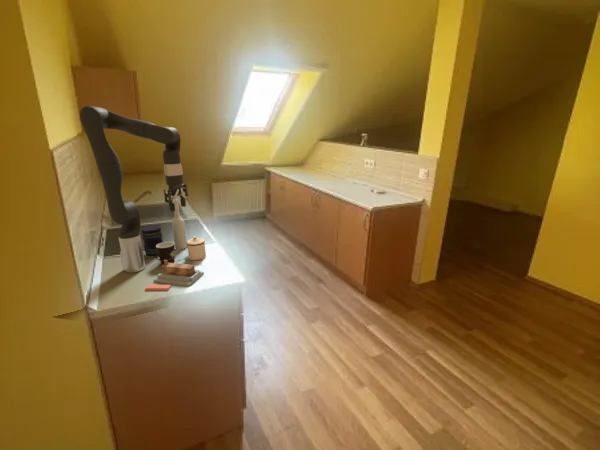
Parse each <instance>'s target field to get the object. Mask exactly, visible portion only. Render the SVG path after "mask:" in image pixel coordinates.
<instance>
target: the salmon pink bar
mask: <svg viewBox="0 0 600 450" xmlns="http://www.w3.org/2000/svg"><path fill="white" fill-rule="evenodd" d="M171 288H172V284H148V285H146V287H144V289H145V291H169V290H171Z"/></svg>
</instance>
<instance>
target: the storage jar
mask: <svg viewBox="0 0 600 450" xmlns="http://www.w3.org/2000/svg"><path fill="white" fill-rule="evenodd" d="M140 231H141V235H142V236H141V239H143V244H144V245H143V247H144V249H143V251H144V254H145V257H147V258H156V257H155V255H156V253H157V248H156V245H157V244H159V243H163V242H164V241H163V231H162V225H159V224H149V225H146V226H143V227H141V228H140ZM157 257H159V255H158V253H157Z"/></svg>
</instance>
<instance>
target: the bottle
mask: <svg viewBox="0 0 600 450" xmlns="http://www.w3.org/2000/svg"><path fill="white" fill-rule="evenodd" d="M174 204H175V211H173V212H174V213H173V214H174V217H173V219H172V220H171V225H172V232H173V233H172V234H173V240H174V241H173V243H174V246H175V248H176V249H183V250H185V249H184V248H186V249H187V246H186V244H187V241H188V240H187V239H188V238H187V233H186V232H187V231H186V226H185V225H186V224H185V220H184V219H183V218H182V216H181V214H180V208H179V199H177V198H176V199H175V201H174ZM176 249H175V250H176Z"/></svg>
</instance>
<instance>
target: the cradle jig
mask: <svg viewBox="0 0 600 450" xmlns="http://www.w3.org/2000/svg"><path fill="white" fill-rule="evenodd" d="M204 274H205V273H204V271H200V269H195V274H194V275H193V276H192V277H187V276H178V275H169V274H163V272H162V273H158V274H157V275H156V277H155V278H153V282H154V283H161V284H167V285H178V286H186V287H191V286H192V285H193V284H194V283H195V282H196V281H197V280H198V279H200V278H202V276H204Z"/></svg>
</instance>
